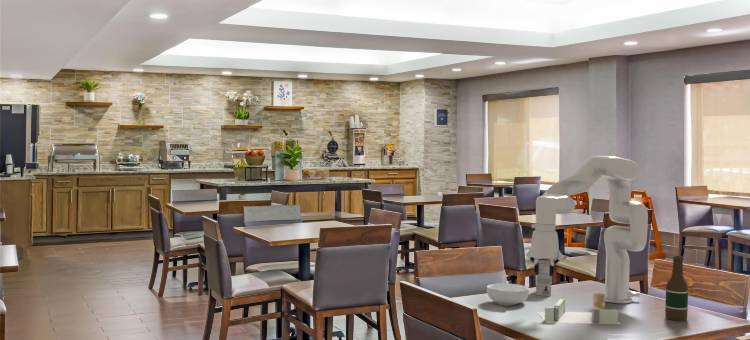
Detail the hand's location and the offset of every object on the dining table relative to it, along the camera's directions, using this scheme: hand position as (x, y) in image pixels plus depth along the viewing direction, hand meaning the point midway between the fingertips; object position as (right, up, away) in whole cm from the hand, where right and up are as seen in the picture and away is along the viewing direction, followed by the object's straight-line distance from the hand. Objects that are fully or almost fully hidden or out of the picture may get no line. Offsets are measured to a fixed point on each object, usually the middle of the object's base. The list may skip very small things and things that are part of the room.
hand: (544, 274), depth 273 cm
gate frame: (+11, -16, -6) cm, 20 cm away
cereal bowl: (-11, -15, +17) cm, 25 cm away
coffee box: (+9, -14, +37) cm, 41 cm away
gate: (+5, -15, -4) cm, 16 cm away
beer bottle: (+49, -16, -4) cm, 52 cm away
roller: (+20, -15, -2) cm, 25 cm away
